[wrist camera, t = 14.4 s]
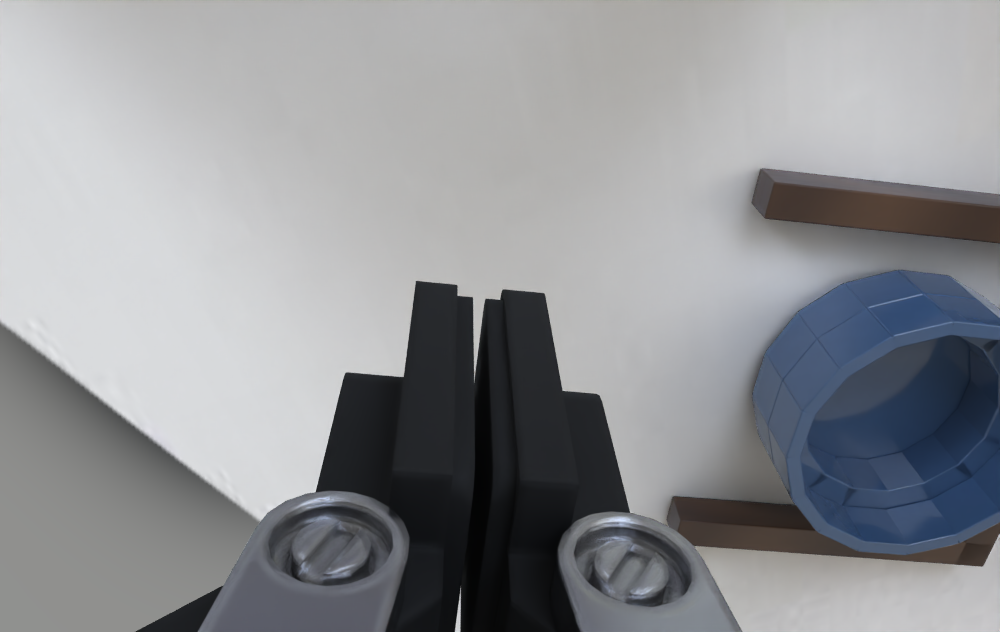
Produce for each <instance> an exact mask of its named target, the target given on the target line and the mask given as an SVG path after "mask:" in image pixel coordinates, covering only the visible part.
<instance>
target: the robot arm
mask: <svg viewBox="0 0 1000 632" xmlns="http://www.w3.org/2000/svg"><path fill="white" fill-rule="evenodd" d="M460 588H461V632H742V630H741V628H740V626H739V625H738V623H737V621H736V619H735V617H734V615H733V614H732V612H731V610H730V608H729V606H728V604H727V602H726V601H725V599H724V597H723V595H722V593H721V591H720V589H719V588H718V586H717V584H716V582H715V580H714V578H713V577H712V575H711V573H710V571H709V569H708V567H707V565H706V564H705V562H704V560H703V558H702V557H701V556H700V554H699V553H698V552H697V550H696V549H695V548H694V546H693V545H692V544H691V543H690V542H689V541H688V540H687V539H685V538H684V537H683V536H682V535H680V534H679V533H678V532H677V531H675V530H674V529H672V528H670V527H668V526H666V525H664V524H662V523H660V522H658V521H656V520H654V519H651V518H648V517H644V516H641V515H637V514H634V513H630V511H629V507H628V503H627V499H626V495H625V491H624V487H623V483H622V479H621V475H620V471H619V467H618V463H617V459H616V455H615V451H614V447H613V443H612V439H611V435H610V431H609V428H608V424H607V420H606V416H605V412H604V408H603V404H602V401H601V398H600V396H599V395H597V394H591V393H580V392H568V391H562V386H561V380H560V375H559V369H558V364H557V358H556V353H555V347H554V342H553V336H552V331H551V325H550V320H549V314H548V309H547V303H546V298H545V294H544V293H536V292H525V291H515V290H504V289H503V290H502V293H501V298H500V300H494V299H486V300H485V304H484V311H483V318H482V326H481V334H480V342H479V350H478V358H477V366H476V374H475V382H474V343H473V297H463V296H457V285H452V284H442V283H431V282H421V281H416V285H415V293H414V301H413V309H412V317H411V325H410V333H409V341H408V349H407V357H406V365H405V373H404V377H394V376H382V375H371V374H359V373H345V376H344V379H343V383H342V387H341V391H340V395H339V399H338V403H337V407H336V411H335V415H334V420H333V424H332V428H331V432H330V436H329V440H328V444H327V448H326V452H325V456H324V460H323V465H322V469H321V473H320V477H319V481H318V485H317V489H316V492H315V493H308V494H304V495H302V496H299V497H296V498H293V499H290V500H287V501H285V502H284V503H282V504H280V505H279V506H277V507H276V508H274V509H273V510H271V511H270V512H268V513H267V515H266V516H265V517H264V518H263V519H262V521H261V522H260V523H259V524H258V526H257V527H256V528H255V530H254V532H253V534H252V535H251V537H250V539H249V541H248V543H247V544H246V546H245V548H244V550H243V551H242V553H241V555H240V557H239V559H238V561H237V562H236V564H235V566H234V568H233V569H232V571H231V573H230V575H229V577H228V578H227V580H226V582H225V584H224V585H223V586H221V587H219V588H217V589H216V590H214V591H212V592H210V593H208V594H206V595H204V596H202V597H200V598H198V599H197V600H195V601H193V602H191V603H189V604H187V605H185V606H183V607H181V608H180V609H178V610H176V611H174V612H172V613H170V614H168V615H166V616H164V617H162V618H161V619H159V620H157V621H155V622H153V623H151V624H149V625H147V626H146V627H143V628H142V629H140V630H138V631H136V632H455V625H456V618H457V610H458V603H459V595H460Z"/></svg>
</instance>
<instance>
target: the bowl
mask: <svg viewBox="0 0 1000 632" xmlns="http://www.w3.org/2000/svg"><path fill="white" fill-rule="evenodd" d="M752 395H753V396H752V399H753V406H754V412H755V418H756V425H757V431H758V435H759V437H760V439H761V441H762V443H763V445H764V447H765V449H766V451H767V453H768V455H769V457H770V459H771V460H772V462H773V464H774V466H775V468H776V470H777V472H778V474H779V476H780V478H781V480H782V482H783V484H784V486H785V488H786V490H787V492H788V494H789V496H790V497H791V499H792V501H793V502H794V504H795V505H796V506H797V507H798V509H799V510H800V511H801V513H802V514H803V515H804V516H805V518H806V519H807V520H808V521H809V523H810V524H811V525H812V527H813V528H814V529H815V530H816V531H817V532H818V533H820V534H822V535H824V536H826V537H828V538H831V539H833V540H835V541H837V542H839V543H841V544H843V545H845V546H847V547H849V548H852V549H854V550H856V551H858V552H870V553H883V554H895V555H910V554H914V553H919V552H924V551H928V550H933V549H937V548H942V547H947V546H951V545H956V544H958V543H961V542H963V541H965V540H967V539H969V538H971V537H973V536H975V535H977V534H979V533H981V532H982V531H984V530H986V529H988V528H990V527H992V526H994V525H996V524H998V523H1000V309H999V308H998V307H996V306H995V305H994V304H993V303H992V302H990V301H989V300H988V299H987V298H985V297H984V296H982V295H980V294H979V293H977V292H975V291H974V290H972V289H970V288H969V287H967V286H966V285H964V284H962V283H961V282H959V281H957V280H956V279H954V278H952V277H951V276H948V275H941V274H932V273H923V272H914V271H905V270H898V271H897V270H895V271H891V272H887V273H883V274H879V275H875V276H871V277H867V278H863V279H859V280H855V281H851V282H846V283H843V284H841V285H840V286H838V287H836V288H835V289H833V290H832V291H830V292H828V293H827V294H825V295H824V296H822V297H821V298H819V299H817V300H816V301H814V302H813V303H811V304H809V305H808V306H806V307H805V308H803V309H801V310H800V311H798V313H796V315H795V316H794V317H793V318H792V320H791V321H790V322H789V323H788V325H787V326H786V327H785V328H784V329H783V331H782V332H781V333H780V334H779V336H778V337H777V338H776V339H775V341H774V342H773V343H772V344H771V346H770V347H769V348H768V349H767V350H766V352H765V354H764V358H763V361H762V364H761V367H760V371H759V374H758V377H757V380H756V383H755V387H754V390H753V393H752Z"/></svg>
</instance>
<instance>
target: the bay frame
mask: <svg viewBox="0 0 1000 632" xmlns="http://www.w3.org/2000/svg"><path fill="white" fill-rule="evenodd" d="M752 204H753V205H754V206H755V207H756V209H757V210H758V211H759V212H760V213H761V214H762V216H763V217H764V218H765V219H774V220H784V221H793V222H803V223H812V224H822V225H831V226H841V227H850V228H860V229H869V230H879V231H888V232H898V233H907V234H917V235H926V236H935V237H945V238H954V239H964V240H973V241H983V242H992V243H1000V195H999V194H990V193H981V192H972V191H963V190H954V189H945V188H936V187H927V186H917V185H908V184H899V183H890V182H881V181H872V180H863V179H854V178H845V177H836V176H827V175H818V174H809V173H800V172H791V171H782V170H773V169H764V168H762V169H761V170H760V173H759V177H758V181H757V184H756V188H755V192H754V196H753V199H752ZM667 522H668V525H669V527H670V528H672V529H674V530H675V531H677V532H678V533H679V534H680V535H682V536H683V537H684V538H685V539H687V540H688V541H689V542H690V543H691V544H692V545H693V546H705V547H719V548H733V549H747V550H761V551H775V552H789V553H803V554H817V555H831V556H845V557H859V558H873V559H887V560H901V561H914V562H928V563H942V564H955V565H968V566H983V565H984V563H985V561H986V559H987V557H988V555H989V553H990V551H991V549H992V547H993V545H994V543H995V541H996V539H997V537H998V535H999V533H1000V523H998V524H996V525H994V526H992V527H990V528H988V529H986V530H984V531H982V532H981V533H979V534H977V535H975V536H973V537H971V538H969V539H967V540H965V541H963V542H961V543H958V544H956V545H951V546H947V547H942V548H937V549H933V550H928V551H924V552H919V553H914V554H910V555H895V554H883V553H870V552H858V551H856V550H854V549H852V548H849V547H847V546H845V545H843V544H841V543H839V542H837V541H835V540H833V539H831V538H828V537H826V536H824V535H822V534H820V533H818V532H817V531H816V530H815V529H814V528H813V527H812V525H811V524H810V523H809V521H808V520H807V519H806V518H805V516H804V515H803V514H802V513H801V511H800V510H799V509H798V507H797V506H793V505H780V504H767V503H754V502H741V501H728V500H715V499H702V498H689V497H676V496H674V497H673V498H672V502H671V506H670V509H669V513H668V517H667Z"/></svg>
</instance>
